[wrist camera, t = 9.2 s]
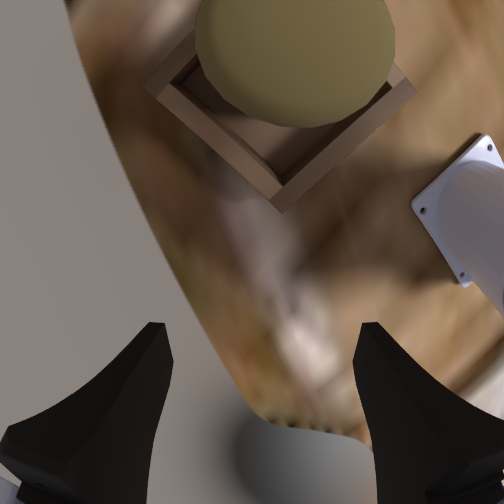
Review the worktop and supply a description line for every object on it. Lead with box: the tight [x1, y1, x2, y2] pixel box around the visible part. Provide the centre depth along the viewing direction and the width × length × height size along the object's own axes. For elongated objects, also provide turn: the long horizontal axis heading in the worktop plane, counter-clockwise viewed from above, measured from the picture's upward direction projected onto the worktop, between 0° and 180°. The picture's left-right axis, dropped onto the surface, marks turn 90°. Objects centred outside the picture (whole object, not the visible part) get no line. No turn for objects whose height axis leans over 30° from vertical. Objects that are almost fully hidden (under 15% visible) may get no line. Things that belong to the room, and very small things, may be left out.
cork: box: [195, 0, 395, 128], centre depth 10 cm, size 6×6×11 cm
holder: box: [142, 28, 417, 214], centre depth 15 cm, size 10×10×4 cm
